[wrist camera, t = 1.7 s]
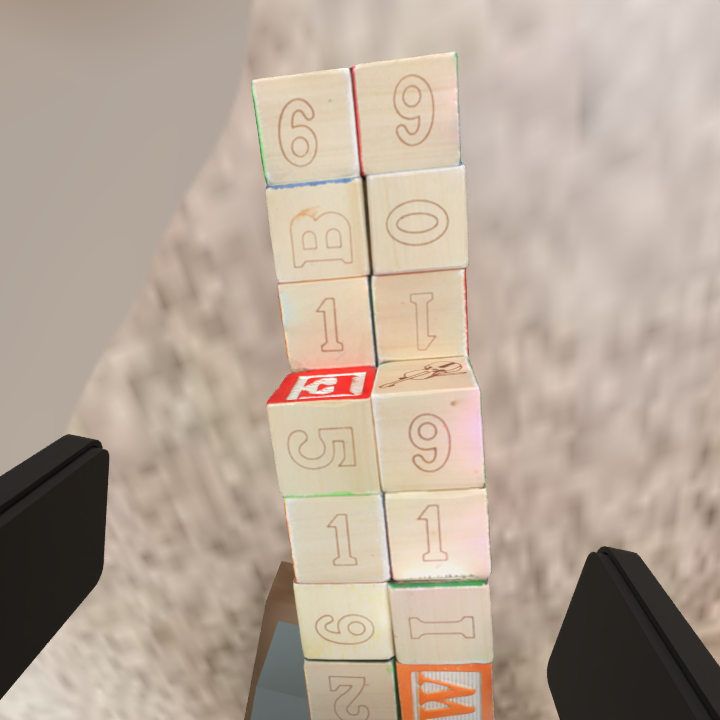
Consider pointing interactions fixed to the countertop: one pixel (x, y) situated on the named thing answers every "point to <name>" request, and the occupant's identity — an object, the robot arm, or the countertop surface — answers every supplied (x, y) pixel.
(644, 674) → the robot arm
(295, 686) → the tower top slab
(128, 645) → the countertop surface
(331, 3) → the countertop surface
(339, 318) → the stack of blocks
